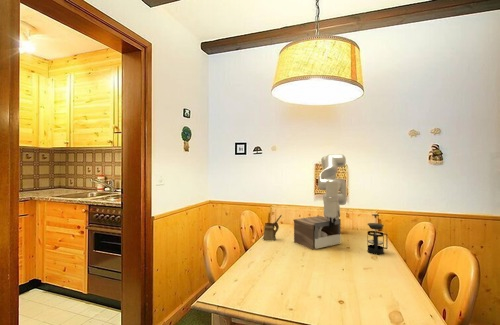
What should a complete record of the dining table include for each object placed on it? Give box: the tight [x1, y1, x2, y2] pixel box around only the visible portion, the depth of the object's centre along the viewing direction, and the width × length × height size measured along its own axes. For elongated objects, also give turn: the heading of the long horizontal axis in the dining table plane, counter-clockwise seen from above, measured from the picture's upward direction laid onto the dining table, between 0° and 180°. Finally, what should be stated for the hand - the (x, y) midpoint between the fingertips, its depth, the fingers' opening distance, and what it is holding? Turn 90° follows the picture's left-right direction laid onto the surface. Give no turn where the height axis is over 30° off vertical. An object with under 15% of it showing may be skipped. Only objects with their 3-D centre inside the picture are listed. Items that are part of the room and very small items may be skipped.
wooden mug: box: [262, 214, 282, 241], centre depth 189 cm, size 9×14×18 cm, turn 72°
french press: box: [366, 213, 388, 256], centre depth 161 cm, size 12×9×23 cm
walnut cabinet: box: [293, 215, 338, 250], centre depth 181 cm, size 25×18×16 cm
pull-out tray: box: [314, 218, 342, 250], centre depth 179 cm, size 22×18×16 cm
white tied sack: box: [314, 227, 327, 240], centre depth 180 cm, size 12×8×11 cm
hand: (332, 228), depth 169 cm, fingers closed
